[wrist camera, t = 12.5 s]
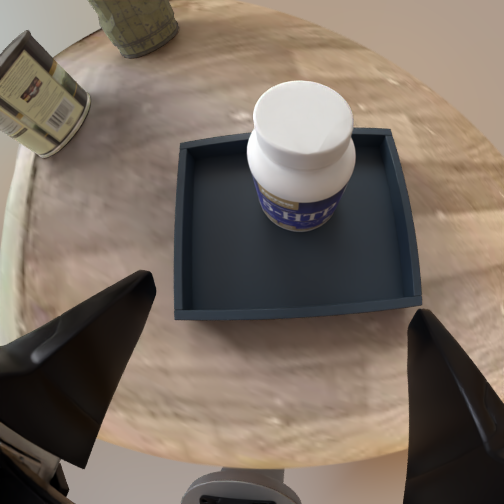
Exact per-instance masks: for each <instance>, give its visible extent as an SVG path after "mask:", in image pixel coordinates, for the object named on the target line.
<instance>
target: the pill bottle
mask: <svg viewBox="0 0 504 504" xmlns="http://www.w3.org/2000/svg"><path fill="white" fill-rule="evenodd" d="M253 121H254V127H255V128H254V129H253V131H252V133H251V135H250V138H249V141H248V146H247V158H248V163H249V167H250V171H251V174H252V177H253V180H254V184H255V187H256V190H257V194H258V197H259V201H260V204H261V206H262V209H263V211H264V212H265V214H266V215H267V217H268V218H269V219H270V220H271V221H272V222H273V223H275V224H276V225H278V226H279V227H281V228H283V229H286V230H290V231H295V232H305V231H310V230H313V229H316V228H318V227H320V226H321V225H323V224H324V223H325V222H327V221H328V220H329V219H330V217H331V216H332V215H333V213H334V211H335V209H336V207H337V205H338V203H339V201H340V199H341V197H342V195H343V192H344V190H345V188H346V186H347V184H348V182H349V180H350V177H351V175H352V172H353V169H354V166H355V158H356V154H355V147H354V143H353V141H352V138H351V135H352V131H353V125H354V119H353V114H352V111H351V108H350V107H349V105H348V103H347V102H346V101H345V99H344V98H343V97H342V96H341V95H340V94H339V93H337V92H336V91H334V90H333V89H331V88H329V87H327V86H325V85H322V84H319V83H316V82H310V81H289V82H284V83H281V84H278V85H276V86H274V87H272V88H270V89H269V90H267V91H266V92H265V93H264V94H263V95H262V96H261V97H260V98H259V100H258V101H257V103H256V105H255V108H254V113H253Z"/></svg>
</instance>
